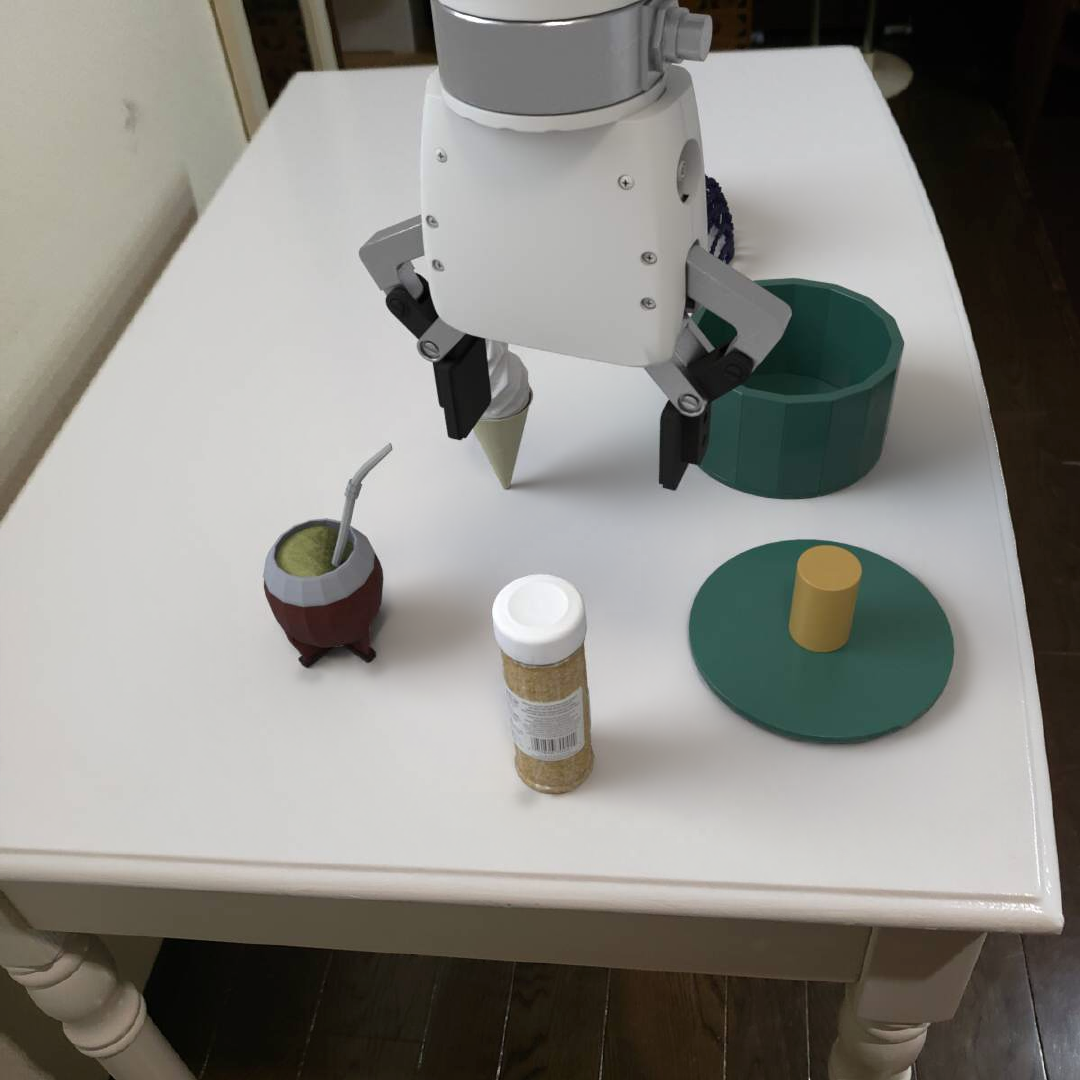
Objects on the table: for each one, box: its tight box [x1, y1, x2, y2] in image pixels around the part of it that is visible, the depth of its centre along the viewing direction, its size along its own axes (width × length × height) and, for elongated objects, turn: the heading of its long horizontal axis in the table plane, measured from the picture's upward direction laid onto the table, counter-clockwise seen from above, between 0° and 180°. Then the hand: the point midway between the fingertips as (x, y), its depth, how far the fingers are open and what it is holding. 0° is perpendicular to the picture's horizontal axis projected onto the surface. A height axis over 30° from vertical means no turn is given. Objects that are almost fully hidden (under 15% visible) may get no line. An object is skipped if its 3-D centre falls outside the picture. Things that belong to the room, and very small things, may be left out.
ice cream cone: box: [472, 338, 534, 490], centre depth 75 cm, size 5×5×15 cm
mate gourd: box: [262, 442, 393, 669], centre depth 66 cm, size 8×8×15 cm
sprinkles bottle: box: [491, 573, 595, 794], centre depth 59 cm, size 5×5×13 cm
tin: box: [681, 277, 905, 500], centre depth 79 cm, size 15×15×8 cm
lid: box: [688, 538, 955, 744], centre depth 66 cm, size 16×16×7 cm
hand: (571, 444), depth 48 cm, fingers open, 9 cm apart
